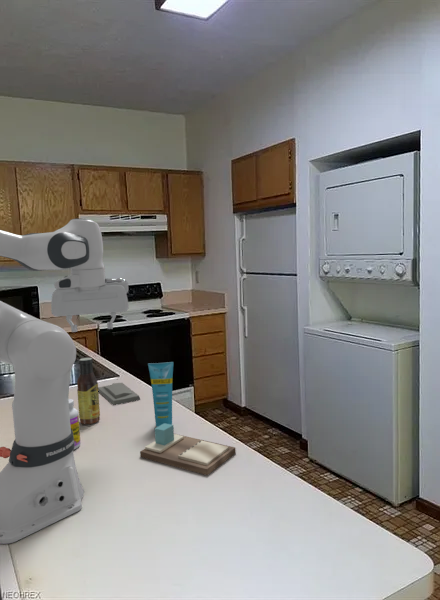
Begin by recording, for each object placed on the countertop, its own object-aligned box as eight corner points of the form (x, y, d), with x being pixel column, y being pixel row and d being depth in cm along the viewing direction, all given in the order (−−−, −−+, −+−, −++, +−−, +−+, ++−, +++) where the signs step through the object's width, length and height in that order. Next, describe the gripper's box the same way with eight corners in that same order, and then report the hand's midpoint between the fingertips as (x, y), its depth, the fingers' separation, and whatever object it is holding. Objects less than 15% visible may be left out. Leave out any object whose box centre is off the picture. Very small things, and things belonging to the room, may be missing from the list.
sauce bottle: (97, 425, 141) (92, 361, 139) (76, 426, 141) (71, 362, 139) (103, 417, 148) (98, 356, 145) (83, 418, 148) (78, 356, 146)
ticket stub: (160, 453, 117) (159, 435, 116) (145, 449, 119) (144, 431, 119) (184, 438, 125) (183, 421, 124) (169, 434, 128) (168, 418, 127)
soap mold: (123, 387, 181) (122, 378, 180) (141, 401, 164) (140, 391, 163) (97, 392, 176) (96, 383, 176) (112, 407, 159) (111, 397, 158)
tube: (151, 429, 136) (147, 365, 134) (151, 423, 141) (148, 361, 139) (177, 427, 137) (173, 363, 135) (176, 421, 142) (173, 359, 140)
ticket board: (207, 475, 107) (206, 466, 107) (140, 457, 118) (139, 448, 118) (235, 453, 118) (235, 444, 118) (172, 438, 129) (171, 430, 129)
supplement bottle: (73, 453, 122) (69, 406, 121) (50, 452, 124) (46, 405, 122) (85, 442, 129) (81, 397, 127) (63, 441, 130) (59, 397, 129)
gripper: (127, 276, 131) (130, 325, 133) (51, 281, 126) (55, 331, 128) (128, 278, 125) (131, 328, 126) (47, 282, 120) (52, 335, 122)
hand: (92, 330), depth 127 cm, fingers open, 8 cm apart
